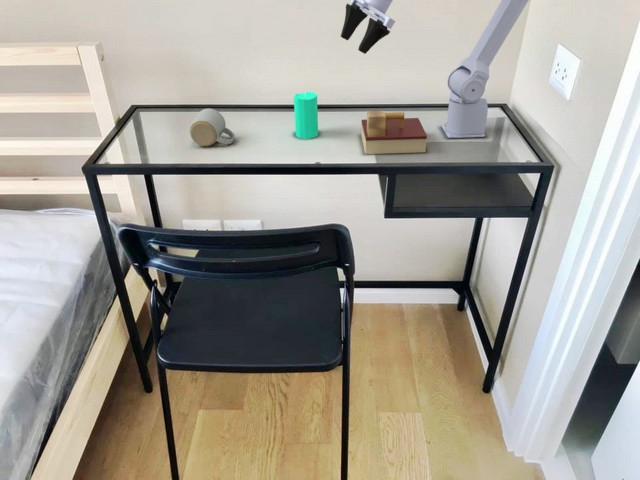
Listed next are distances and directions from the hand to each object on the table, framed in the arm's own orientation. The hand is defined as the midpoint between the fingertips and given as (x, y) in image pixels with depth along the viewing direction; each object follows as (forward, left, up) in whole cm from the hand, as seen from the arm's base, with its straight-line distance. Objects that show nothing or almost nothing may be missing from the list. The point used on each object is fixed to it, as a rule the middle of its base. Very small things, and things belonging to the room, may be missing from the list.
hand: (352, 45), depth 123 cm
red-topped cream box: (-10, +2, -24) cm, 26 cm away
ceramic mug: (+36, -3, -24) cm, 43 cm away
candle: (+12, -6, -24) cm, 27 cm away
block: (-5, +6, -19) cm, 21 cm away
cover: (-10, +2, -20) cm, 23 cm away
